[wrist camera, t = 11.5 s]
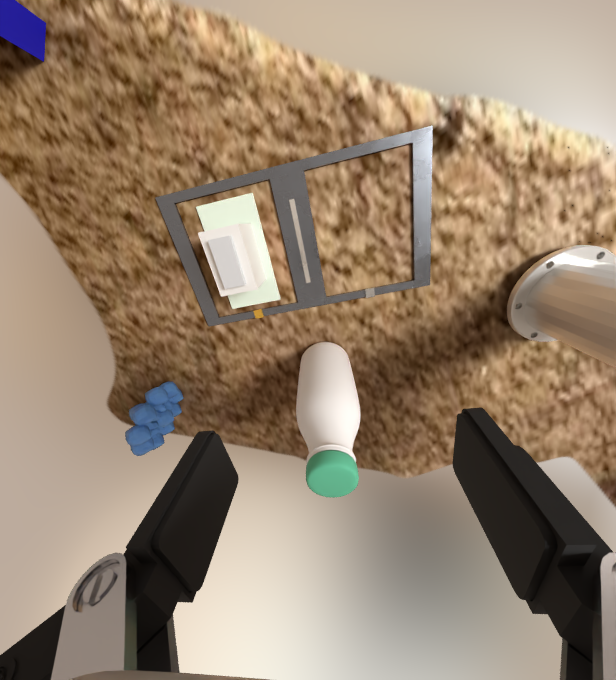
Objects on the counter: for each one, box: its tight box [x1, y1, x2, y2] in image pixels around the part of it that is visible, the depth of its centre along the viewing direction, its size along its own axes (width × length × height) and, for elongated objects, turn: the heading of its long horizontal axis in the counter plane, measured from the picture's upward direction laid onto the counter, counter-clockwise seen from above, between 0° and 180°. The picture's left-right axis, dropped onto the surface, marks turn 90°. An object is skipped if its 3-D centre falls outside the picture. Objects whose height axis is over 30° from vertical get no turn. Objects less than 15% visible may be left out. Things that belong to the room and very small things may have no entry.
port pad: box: [196, 193, 280, 309], centre depth 32 cm, size 7×13×1 cm, turn 12°
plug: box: [198, 223, 266, 297], centre depth 29 cm, size 5×7×6 cm
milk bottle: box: [296, 342, 360, 497], centre depth 30 cm, size 8×8×20 cm
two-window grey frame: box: [156, 126, 433, 326], centre depth 31 cm, size 32×17×1 cm, turn 102°
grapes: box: [125, 382, 184, 456], centre depth 37 cm, size 12×7×12 cm, turn 164°
